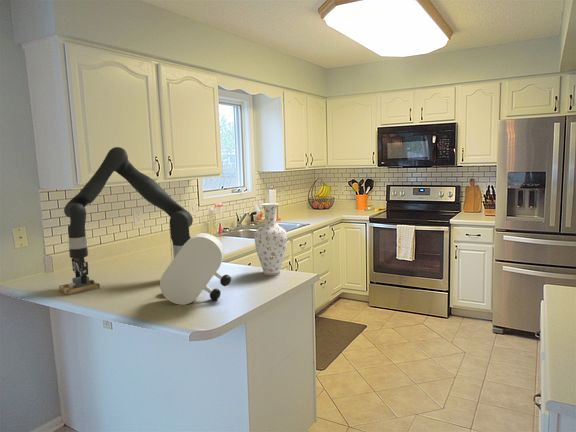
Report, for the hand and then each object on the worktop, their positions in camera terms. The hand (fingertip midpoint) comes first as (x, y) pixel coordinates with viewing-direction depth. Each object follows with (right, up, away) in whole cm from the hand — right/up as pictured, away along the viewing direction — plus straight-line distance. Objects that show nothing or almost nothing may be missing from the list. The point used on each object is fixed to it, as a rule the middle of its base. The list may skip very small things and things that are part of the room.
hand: (81, 282), depth 203 cm
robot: (+58, -5, -21) cm, 61 cm away
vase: (+87, +1, +19) cm, 89 cm away
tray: (-1, -3, 0) cm, 3 cm away
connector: (0, -2, 0) cm, 2 cm away
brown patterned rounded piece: (+45, -4, -10) cm, 46 cm away
